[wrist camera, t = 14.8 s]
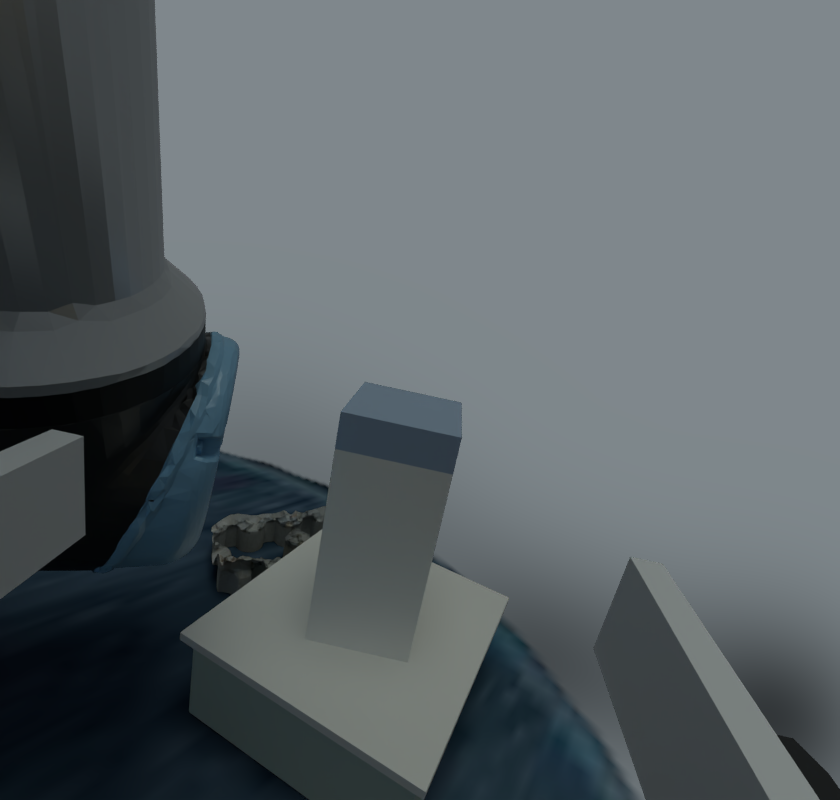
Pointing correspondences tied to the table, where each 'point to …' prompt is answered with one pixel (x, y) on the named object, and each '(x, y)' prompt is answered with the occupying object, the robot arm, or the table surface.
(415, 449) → the milk carton
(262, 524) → the egg carton
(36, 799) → the table surface
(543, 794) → the table surface
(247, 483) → the table surface
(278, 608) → the podium
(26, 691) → the table surface
